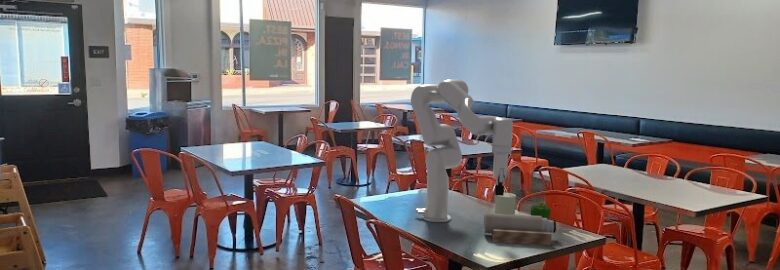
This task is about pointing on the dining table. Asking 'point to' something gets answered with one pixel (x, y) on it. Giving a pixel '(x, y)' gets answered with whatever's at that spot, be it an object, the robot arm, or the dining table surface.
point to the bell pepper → (540, 210)
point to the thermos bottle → (518, 223)
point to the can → (505, 204)
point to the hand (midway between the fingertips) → (499, 194)
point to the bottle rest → (521, 237)
